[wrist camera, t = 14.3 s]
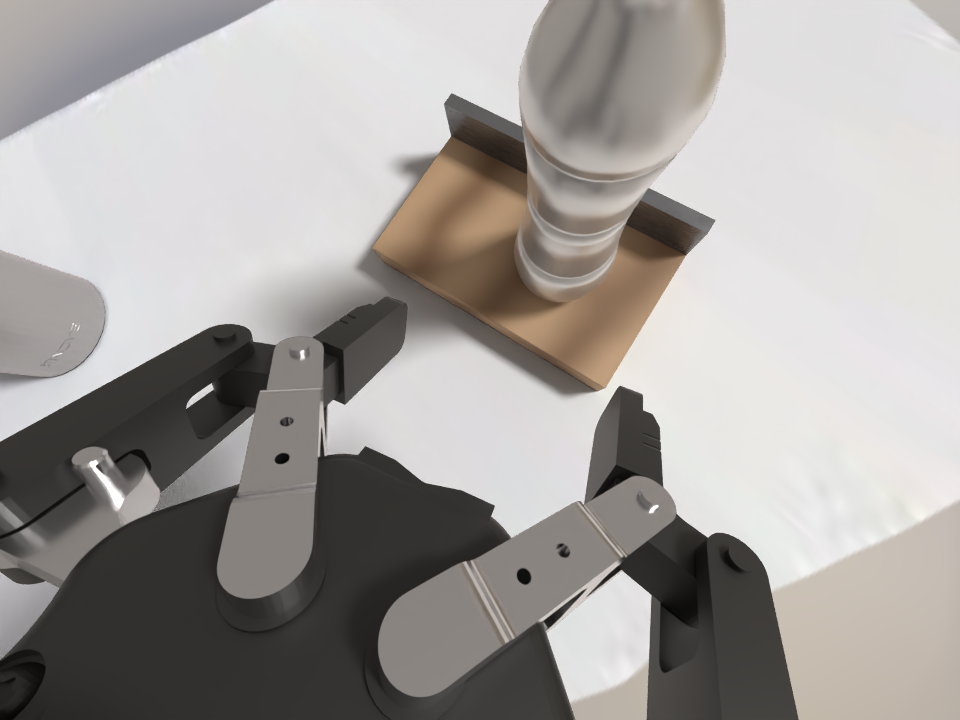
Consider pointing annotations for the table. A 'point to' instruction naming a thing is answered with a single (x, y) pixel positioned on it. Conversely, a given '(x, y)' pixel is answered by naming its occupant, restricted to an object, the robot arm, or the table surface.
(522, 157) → the rail
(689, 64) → the silver bottle
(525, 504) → the table surface
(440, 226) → the shelf board
